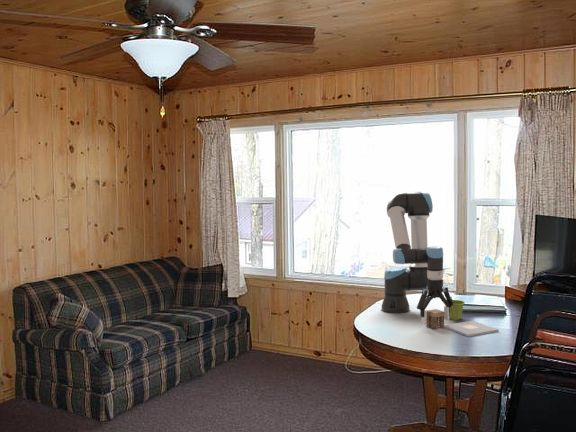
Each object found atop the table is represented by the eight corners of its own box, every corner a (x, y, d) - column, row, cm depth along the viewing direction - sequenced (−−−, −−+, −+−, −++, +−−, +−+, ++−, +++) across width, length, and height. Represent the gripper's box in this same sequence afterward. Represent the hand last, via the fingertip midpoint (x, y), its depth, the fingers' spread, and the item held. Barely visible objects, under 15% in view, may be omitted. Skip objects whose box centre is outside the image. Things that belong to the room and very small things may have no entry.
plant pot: (465, 321, 288) (465, 304, 288) (446, 320, 290) (446, 303, 290) (463, 316, 298) (463, 300, 297) (445, 315, 299) (445, 299, 299)
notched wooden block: (426, 326, 281) (426, 310, 280) (436, 324, 283) (436, 309, 282) (434, 329, 275) (434, 313, 274) (444, 327, 277) (444, 311, 277)
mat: (442, 327, 278) (442, 325, 278) (471, 322, 286) (471, 320, 286) (468, 336, 262) (468, 334, 262) (498, 331, 269) (498, 329, 269)
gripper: (418, 282, 269) (419, 326, 270) (460, 277, 279) (460, 320, 280) (409, 279, 275) (409, 323, 277) (450, 274, 286) (450, 316, 287)
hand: (435, 321), depth 279 cm, fingers open, 13 cm apart
